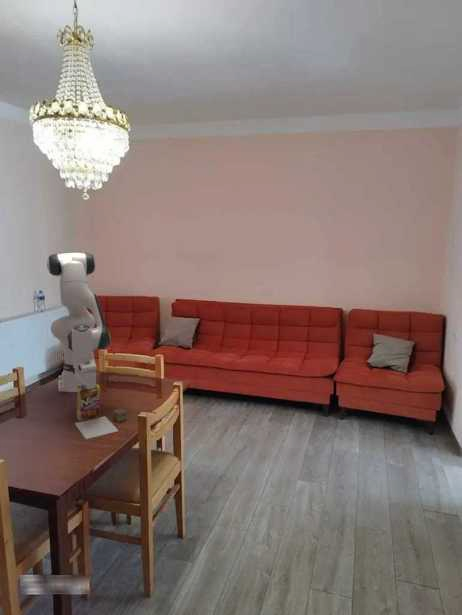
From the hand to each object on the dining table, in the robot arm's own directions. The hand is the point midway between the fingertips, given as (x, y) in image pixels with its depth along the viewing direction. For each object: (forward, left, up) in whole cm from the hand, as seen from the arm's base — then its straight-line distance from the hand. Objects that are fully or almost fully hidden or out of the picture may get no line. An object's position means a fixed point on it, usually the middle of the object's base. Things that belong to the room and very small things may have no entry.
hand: (85, 392), depth 188 cm
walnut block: (+11, +11, -11) cm, 19 cm away
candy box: (+2, 0, -11) cm, 11 cm away
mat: (+13, 0, -11) cm, 17 cm away
